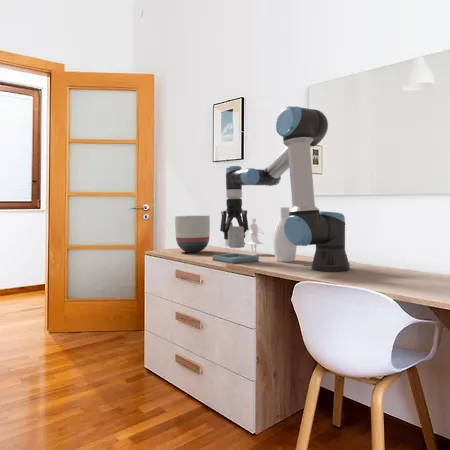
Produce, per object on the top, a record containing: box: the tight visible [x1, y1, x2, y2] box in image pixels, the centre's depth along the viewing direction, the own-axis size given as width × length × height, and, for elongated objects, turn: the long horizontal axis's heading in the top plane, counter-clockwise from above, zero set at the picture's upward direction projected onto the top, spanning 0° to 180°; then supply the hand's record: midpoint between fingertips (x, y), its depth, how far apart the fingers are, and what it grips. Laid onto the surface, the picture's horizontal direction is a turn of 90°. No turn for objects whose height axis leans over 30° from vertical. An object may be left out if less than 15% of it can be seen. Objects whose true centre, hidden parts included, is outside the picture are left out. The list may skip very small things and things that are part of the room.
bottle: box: [272, 206, 298, 263], centre depth 201 cm, size 11×11×25 cm
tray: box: [212, 252, 260, 264], centre depth 205 cm, size 18×15×2 cm
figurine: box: [245, 217, 265, 256], centre depth 230 cm, size 13×10×20 cm
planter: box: [174, 214, 211, 253], centre depth 249 cm, size 20×20×21 cm
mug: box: [228, 221, 246, 249], centre depth 205 cm, size 8×12×12 cm, turn 28°
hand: (234, 245), depth 205 cm, fingers closed on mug, 7 cm apart
